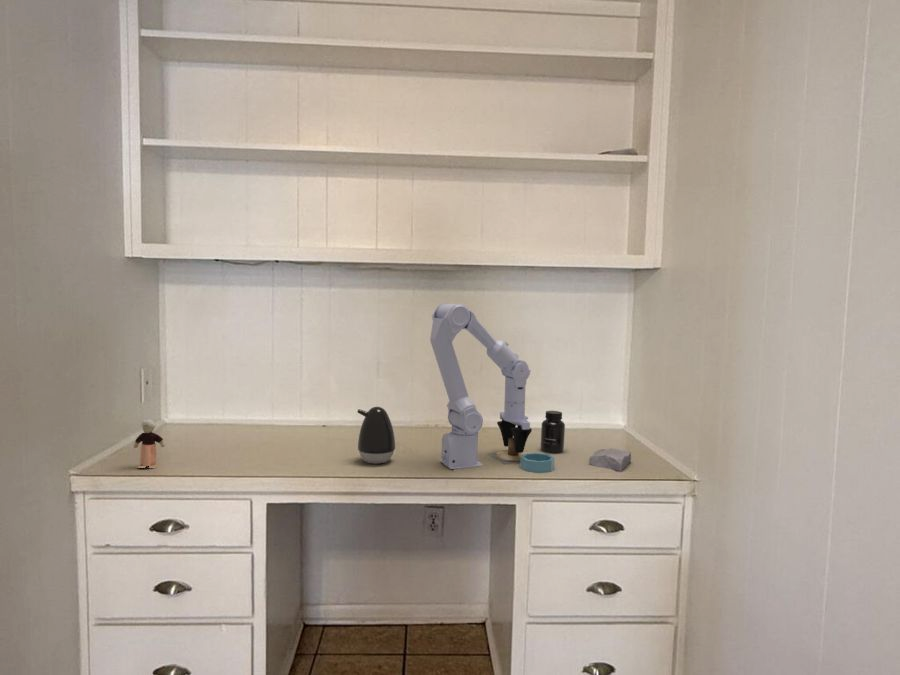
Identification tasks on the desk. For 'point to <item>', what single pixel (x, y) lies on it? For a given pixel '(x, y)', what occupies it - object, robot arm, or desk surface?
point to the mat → (501, 460)
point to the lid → (510, 453)
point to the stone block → (610, 459)
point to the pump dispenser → (376, 436)
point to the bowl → (537, 462)
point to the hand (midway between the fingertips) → (513, 449)
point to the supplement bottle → (552, 433)
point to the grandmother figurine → (148, 443)
